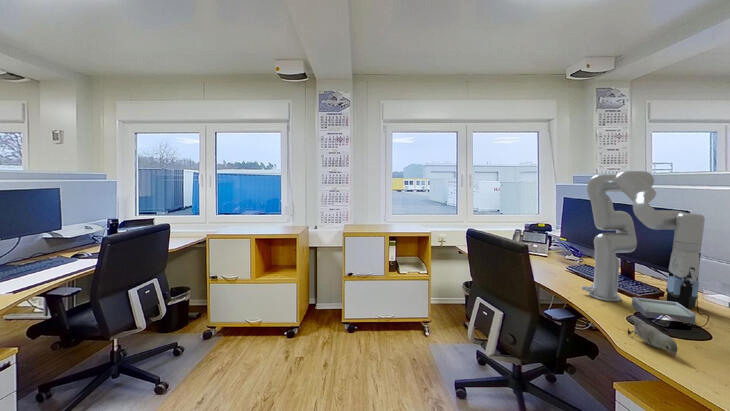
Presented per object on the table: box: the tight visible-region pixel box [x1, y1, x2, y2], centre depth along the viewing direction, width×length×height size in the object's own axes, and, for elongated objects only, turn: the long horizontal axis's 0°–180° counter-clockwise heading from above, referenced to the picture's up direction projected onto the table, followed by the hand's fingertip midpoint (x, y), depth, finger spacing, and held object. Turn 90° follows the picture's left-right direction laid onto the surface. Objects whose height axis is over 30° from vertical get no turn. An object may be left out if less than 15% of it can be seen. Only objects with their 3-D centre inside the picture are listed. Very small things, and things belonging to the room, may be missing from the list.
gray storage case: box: [665, 275, 700, 300], centre depth 123 cm, size 8×5×7 cm, turn 69°
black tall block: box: [666, 250, 702, 310], centre depth 150 cm, size 8×8×28 cm
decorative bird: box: [627, 315, 678, 358], centre depth 114 cm, size 5×16×8 cm, turn 6°
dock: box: [631, 296, 697, 326], centre depth 140 cm, size 16×14×4 cm
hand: (681, 293), depth 124 cm, fingers closed on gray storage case, 5 cm apart
